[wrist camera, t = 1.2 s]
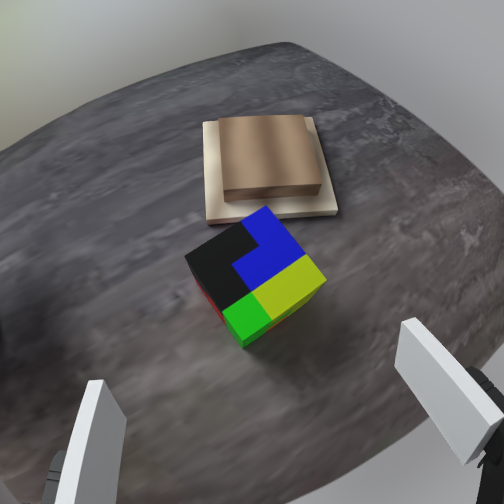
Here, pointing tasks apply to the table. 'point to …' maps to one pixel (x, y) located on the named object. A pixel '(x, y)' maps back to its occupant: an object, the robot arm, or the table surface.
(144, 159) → the table surface
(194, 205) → the table surface
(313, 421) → the table surface
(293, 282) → the puzzle toy
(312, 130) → the build plinth
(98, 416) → the robot arm
